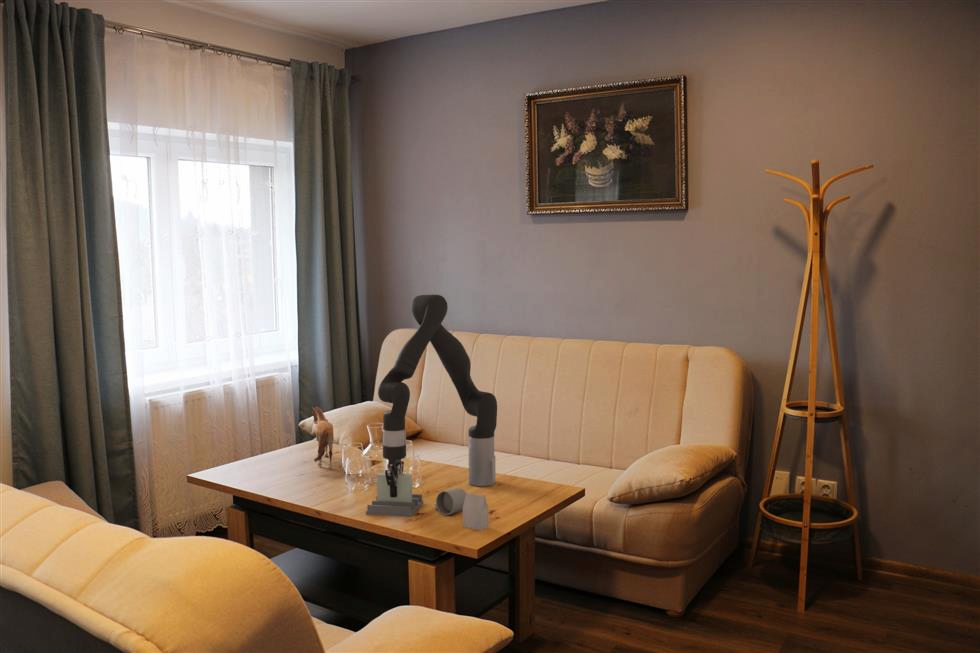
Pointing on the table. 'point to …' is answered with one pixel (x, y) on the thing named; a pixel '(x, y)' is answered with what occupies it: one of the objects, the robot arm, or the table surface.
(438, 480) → the table surface
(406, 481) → the green tile
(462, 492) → the ceramic mug
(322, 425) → the horse figurine
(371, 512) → the slot rack
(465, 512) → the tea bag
